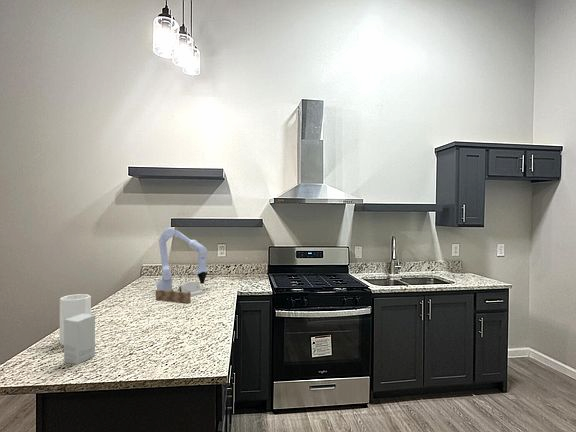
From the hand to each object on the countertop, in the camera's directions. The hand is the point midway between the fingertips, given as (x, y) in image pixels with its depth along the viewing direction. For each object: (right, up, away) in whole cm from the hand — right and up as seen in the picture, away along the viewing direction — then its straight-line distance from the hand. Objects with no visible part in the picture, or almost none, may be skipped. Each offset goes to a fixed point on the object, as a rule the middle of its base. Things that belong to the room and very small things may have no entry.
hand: (202, 283), depth 250 cm
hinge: (-5, -6, -13) cm, 15 cm away
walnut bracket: (-10, -5, -27) cm, 29 cm away
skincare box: (-16, -6, -119) cm, 120 cm away
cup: (-29, -6, -100) cm, 104 cm away
